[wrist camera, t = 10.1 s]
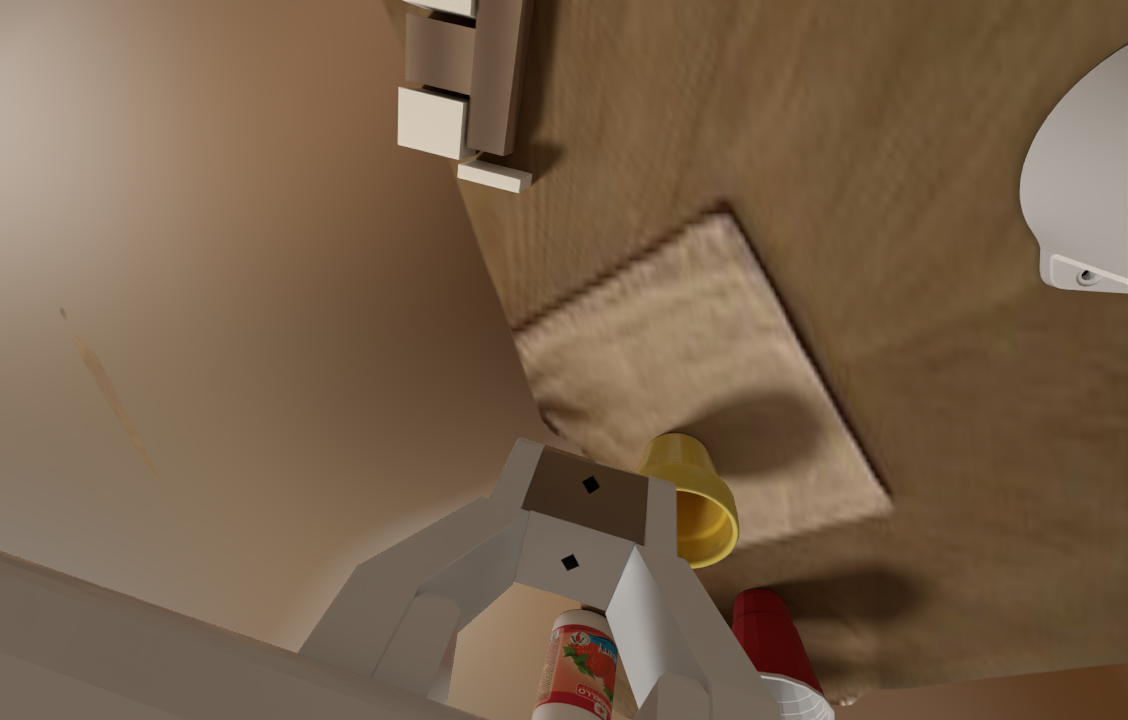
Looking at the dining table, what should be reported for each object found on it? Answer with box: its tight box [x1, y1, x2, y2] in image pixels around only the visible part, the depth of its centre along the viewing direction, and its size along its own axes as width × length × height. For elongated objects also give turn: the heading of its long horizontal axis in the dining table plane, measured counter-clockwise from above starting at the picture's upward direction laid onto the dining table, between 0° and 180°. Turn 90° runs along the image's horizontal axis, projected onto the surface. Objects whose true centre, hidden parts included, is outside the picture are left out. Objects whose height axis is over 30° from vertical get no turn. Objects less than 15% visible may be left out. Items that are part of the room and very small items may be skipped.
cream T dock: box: [398, 0, 532, 193], centre depth 34 cm, size 10×16×4 cm, turn 168°
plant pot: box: [636, 433, 739, 569], centre depth 45 cm, size 10×10×10 cm
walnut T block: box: [405, 0, 534, 156], centre depth 34 cm, size 8×11×3 cm
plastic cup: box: [731, 589, 834, 720], centre depth 52 cm, size 11×11×12 cm
